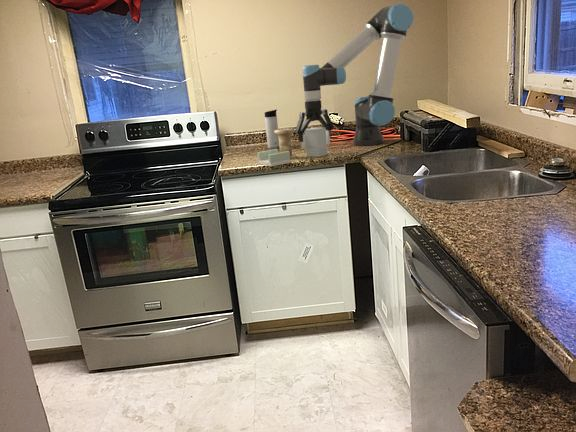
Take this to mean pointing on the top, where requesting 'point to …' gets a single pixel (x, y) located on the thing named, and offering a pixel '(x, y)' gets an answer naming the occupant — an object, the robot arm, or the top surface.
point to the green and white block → (273, 157)
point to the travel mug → (271, 129)
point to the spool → (285, 141)
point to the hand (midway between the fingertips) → (315, 146)
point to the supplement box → (316, 142)
